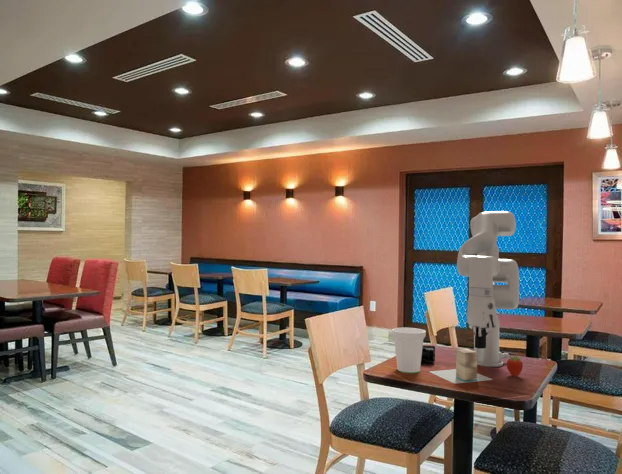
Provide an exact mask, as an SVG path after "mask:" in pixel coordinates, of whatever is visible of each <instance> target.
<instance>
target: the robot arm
mask: <svg viewBox="0 0 622 474" xmlns="http://www.w3.org/2000/svg"><path fill="white" fill-rule="evenodd" d="M469 224H470V232H471V235H472V237H470V238H469V239H467V240H466V241H465V242H464V243H463V244H461V246H460V247H459V250H458V254H457V259H456V260H457V261H456V270H457V273H458V275H460V276H463V277H468V300H467V308H466V322H467V324H468V327H469V329H471V330H472V331H473V351H476V352H477V366H480V367H491V368H499V367H502V366H503V365H504V361H503V358H504V359H507V358H509V357H510V354H509V353H508V352H503V353H502V352H501V351H500V319H499V317H498V315H497V310H515V309H517V308H518V307H519V303H520V273H519V272H520V271H519V265H518V263H517V261H516V260H514V259H512V258H511V259H508V258H500V257H499V255H500V252H499V251H500V249H499V246H498V245H497V241H498V237H511V236H514V234H515V232H516V229H517V222H516V217H515V215H514V213H513V212H511V211H508V210H505V211H504V210H501V211H500V210H499V211H497V210H494V211H493V210H492V211H490V210H489V211H482V212H479V213H478V214H477V215H476V216H474V217H472V218H471V220H470V223H469ZM493 283H502V284H493ZM503 283H504V284H503ZM505 284H506V285H505Z"/></svg>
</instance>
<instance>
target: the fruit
mask: <svg viewBox="0 0 622 474" xmlns="http://www.w3.org/2000/svg"><path fill="white" fill-rule="evenodd" d="M508 358H509V359H508V360H507V361H506V369H507V370H508V372H509V373H510V375H511V376H512V377H515V378H516V377H519V376H520V374H521V373H522V370H523V367H524V365H523V364H524V363H523V361H522V360H521V359H522V356H520V357H518V356H516V355H514V357H513V356H511V355H509V357H508Z"/></svg>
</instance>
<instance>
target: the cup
mask: <svg viewBox="0 0 622 474" xmlns="http://www.w3.org/2000/svg"><path fill="white" fill-rule="evenodd" d="M391 329H392V330H391V331H392V332H391V335H392V336H393V340H394V349H395V350H394V351H395V358H396V368H397V371H399V372H400V373H404V374H416V373H420V372H421V366H422V365H421V356H422V347H423V346H424V339H425V338H426V335H427V334H426V333H427V331H426V329H422V328H416V327H394V328H391Z"/></svg>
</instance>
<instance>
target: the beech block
mask: <svg viewBox="0 0 622 474" xmlns="http://www.w3.org/2000/svg"><path fill="white" fill-rule="evenodd" d="M455 369H456V378H457V379H459V380H461V381H464V382H467V383H471V382H470V381H476V382H478V381H477V373H478V365H477V352H476V351H474V349H469V348H462V349H455Z"/></svg>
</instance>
